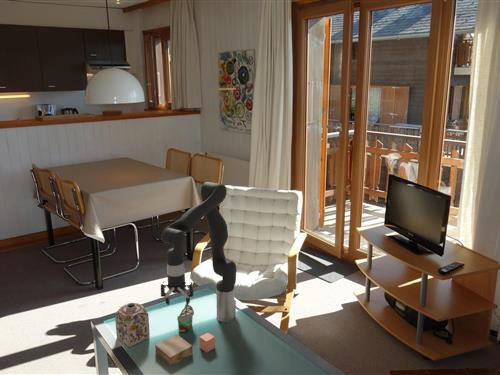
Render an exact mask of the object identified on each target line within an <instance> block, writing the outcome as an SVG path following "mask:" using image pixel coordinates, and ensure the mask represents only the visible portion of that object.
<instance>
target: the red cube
mask: <svg viewBox="0 0 500 375" xmlns="http://www.w3.org/2000/svg"><path fill="white" fill-rule="evenodd" d="M215 343H216V338H215V335H212V334H211V333H209V332H205V334H202V335H201V336H199V348H200V349H201V350H202V351H203V352H205V353H208V352H210V351H212V350H214V349H215V348H216V344H215Z"/></svg>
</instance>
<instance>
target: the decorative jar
mask: <svg viewBox="0 0 500 375" xmlns="http://www.w3.org/2000/svg"><path fill="white" fill-rule="evenodd" d="M114 315H115V316H114V318H115V331H116V332H115V333H116V338H117V339H118V340H119V341H120V342H122V343H123V344H124V345H126V346H127V347H128V348H131V347H133V346H136V345H138V344H139V343H141V342H143V341H145V340H147V339H149V338H150V337H151V336H150V334H151V333H150V322H149V320H150V319H149V312H148V311H147V309H146V308H145V307H144V306H143V305H142V304H140V303H135V302H129V303H126V304H123V305H122V306H120V308H119V309H118V310H117V311H116V312H115V313H114Z"/></svg>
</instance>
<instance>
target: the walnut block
mask: <svg viewBox="0 0 500 375" xmlns="http://www.w3.org/2000/svg"><path fill="white" fill-rule="evenodd" d="M154 346H155V348H154V349H155V355H156V356H158V357H159V358H160V359H161V360H163V361H164V362H165V363H166V364H167V365H168V366H169V367H172V366H174V365H176V364H178V363H179V362H181V361H183V360H185V359H187V358H189V357H190V356H192V355H193V345H192V344H190V343H189V342H188V341H187V340H185V339H184V338H183V337H181V336H180V335H179V334H174V335H173V336H170V337H169V338H167V339H164V340H162V341H161V342H158V343H156V344H155V345H154Z"/></svg>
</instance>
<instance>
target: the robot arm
mask: <svg viewBox="0 0 500 375" xmlns="http://www.w3.org/2000/svg"><path fill="white" fill-rule="evenodd" d="M227 193H228V192H227V187H226V186H225V185H224V184H222V183H218V182H211V181H206V182H204V183H203V184H202V185H201V188H200V196H201V201H202V202H201V203H199V204H196V205H194V206H192V207H191V208H189V209H188V210H187V211H186V212H184V213H183V214H182V215H181V217H180V218H179V219H177V220H176V221H174V222H173V223H171V224H169V225H168V226H166V227H165V228H164V230H163V231H162V233H161V237H160V238H161V242H163V243H164V244H167V245H170V246H172V248H169V249H168V250H167V251H166V274H167V283H166V282H165V281H162V282H161V283H160V297H164V298H165V304H166V305H167V306H169V305H170V304H171V303H170V302H171V301H170V299H171V298H170V295H171V294H172V293H173V294H182V295H183V296H184V297H185V304H186V305H190V301H191V298H193V296H194V285H193V284H194V283H193V282H192V281H191V282H189V283H187V282H186V274H185V273H186V272H185V263H184V250H185V246H186V241H187V237H186V233H190V231H191V230H193V229H194V227H195V226H197V224H198V223H199V222H200V221H201V219H203V218H204V217H205V216H206V217H205V218H206V222H207V227H208V229H207V230H208V235H209V236H208V237H209V240H210V247H211V259H212V260H211V261H212V269H213V273H215V274H216V275H217V276H220V277H222V279H220V280H218V281H217V283H216V288H215V289H216V292H215V293H216V320H217V321H219V322H222V323H229V322H232V321H233V320H234V319H235V317H236V316H237V314H236V313H237V312H236V311H237V309H236V308H237V307H236V306H237V304H236V302H237V300H236V299H235V285H236V282H237V265H236V262H235V261H233V260H230V259H228V258H226V256H225V249H224V248H225V246H226V243H227V242H228V239H229V230H228V225H227V222H226V219H225V218H224V217H223V215H222V213H221V212H220V211H219V210H218V207H217V206H219V205H220V204H221V203H222V202H224V200H225V199H226V197H227V195H228V194H227ZM166 288H168V290H167V292H165V289H166ZM188 290H189V291H188Z"/></svg>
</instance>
